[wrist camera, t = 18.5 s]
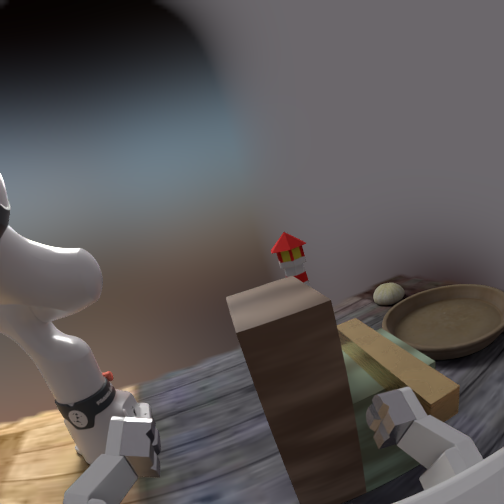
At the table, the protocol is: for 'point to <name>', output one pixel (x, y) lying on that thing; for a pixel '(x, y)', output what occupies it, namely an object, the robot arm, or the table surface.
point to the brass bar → (399, 369)
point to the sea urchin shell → (388, 294)
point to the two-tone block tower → (314, 392)
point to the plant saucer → (448, 320)
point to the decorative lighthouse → (291, 257)
